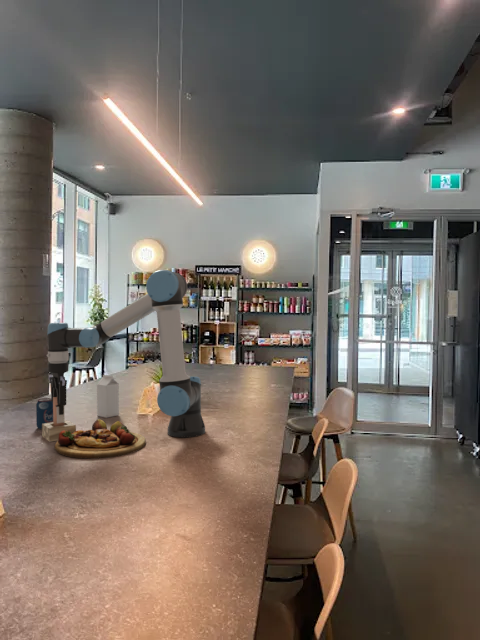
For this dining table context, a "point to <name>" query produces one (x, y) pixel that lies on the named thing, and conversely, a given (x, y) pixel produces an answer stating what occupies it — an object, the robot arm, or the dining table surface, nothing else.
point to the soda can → (44, 412)
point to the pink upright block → (55, 413)
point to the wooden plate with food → (99, 441)
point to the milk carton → (107, 397)
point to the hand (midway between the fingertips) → (58, 421)
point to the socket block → (56, 430)
